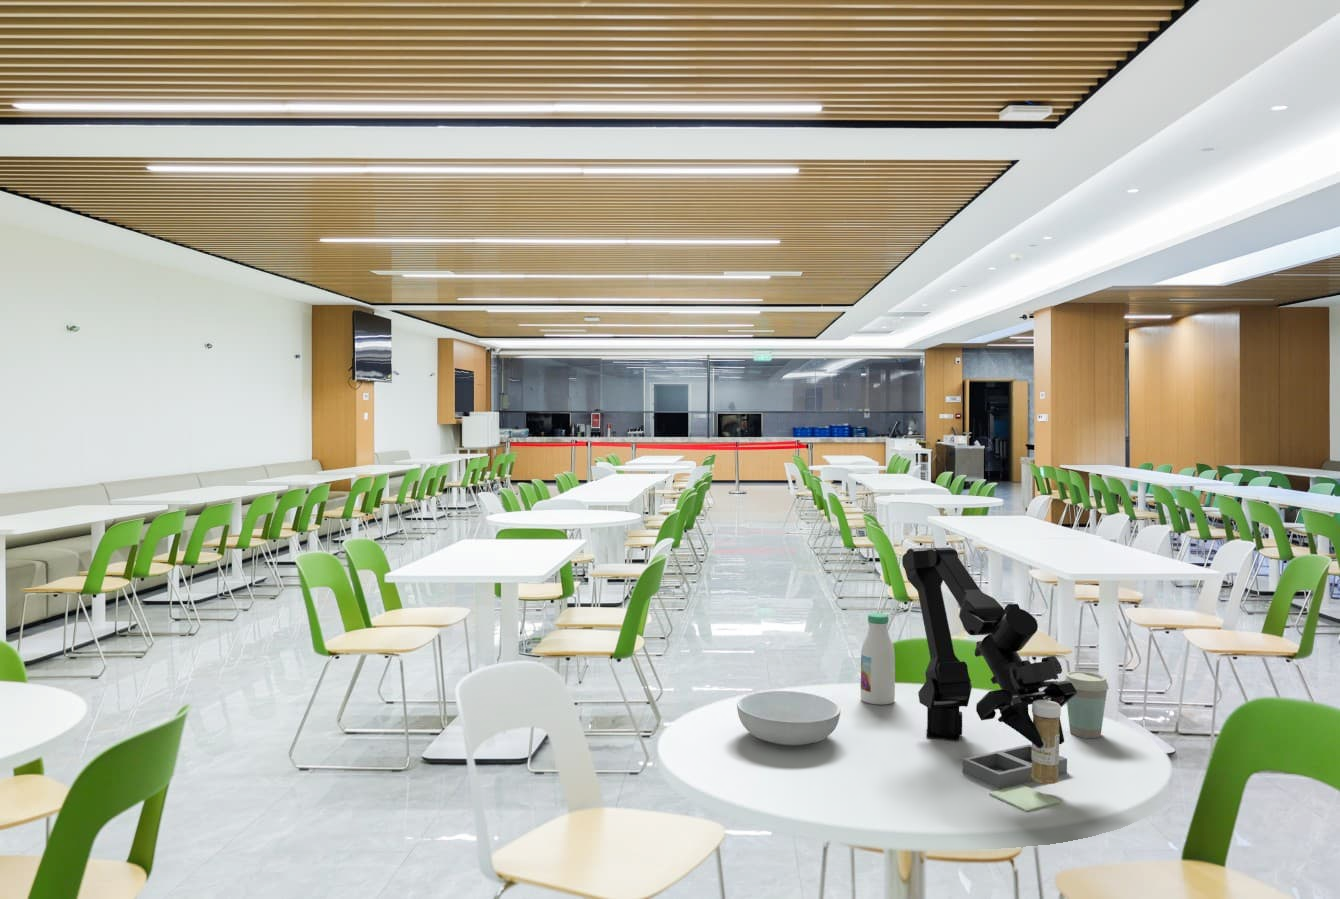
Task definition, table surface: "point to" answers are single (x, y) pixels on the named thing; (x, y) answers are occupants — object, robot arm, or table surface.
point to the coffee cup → (1087, 703)
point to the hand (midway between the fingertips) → (1051, 744)
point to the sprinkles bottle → (1046, 741)
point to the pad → (1024, 798)
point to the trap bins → (1005, 766)
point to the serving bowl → (788, 716)
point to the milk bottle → (877, 663)
